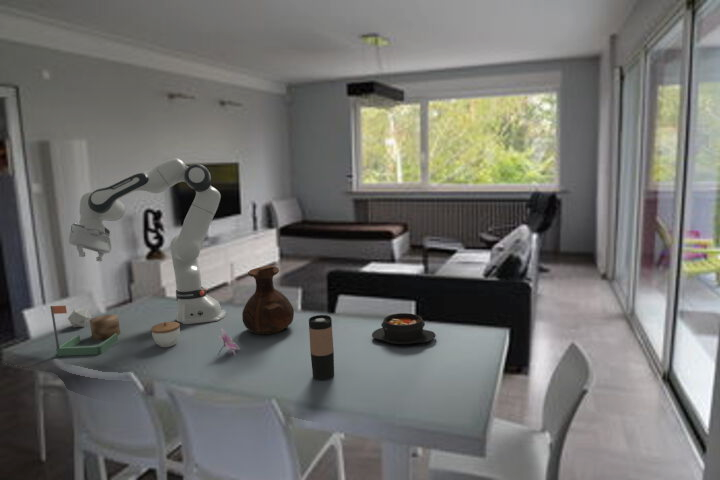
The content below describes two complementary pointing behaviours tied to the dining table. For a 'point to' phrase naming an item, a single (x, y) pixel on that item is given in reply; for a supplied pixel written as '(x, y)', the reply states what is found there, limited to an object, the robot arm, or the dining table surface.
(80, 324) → the white faceted block
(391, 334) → the casserole
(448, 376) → the dining table surface
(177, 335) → the lidded jar
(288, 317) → the jug
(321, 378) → the travel mug
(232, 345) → the lily
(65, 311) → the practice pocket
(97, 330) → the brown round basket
